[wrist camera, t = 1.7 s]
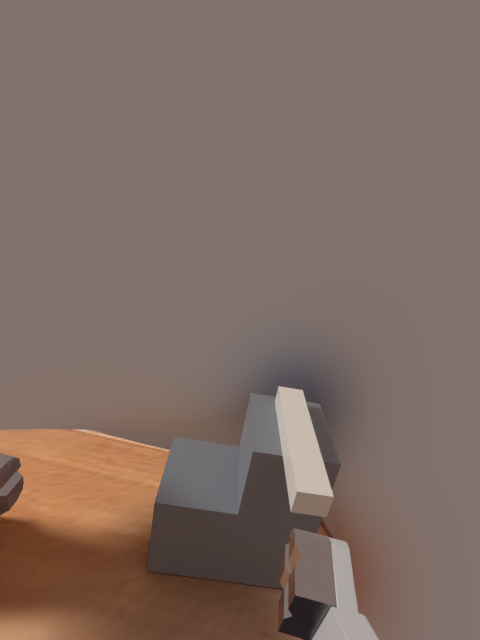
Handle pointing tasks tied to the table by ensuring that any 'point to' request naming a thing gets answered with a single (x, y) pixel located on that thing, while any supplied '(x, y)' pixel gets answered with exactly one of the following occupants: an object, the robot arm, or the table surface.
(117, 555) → the table surface
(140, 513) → the table surface
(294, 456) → the beige rectangular post
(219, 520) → the grey l-shaped step block
